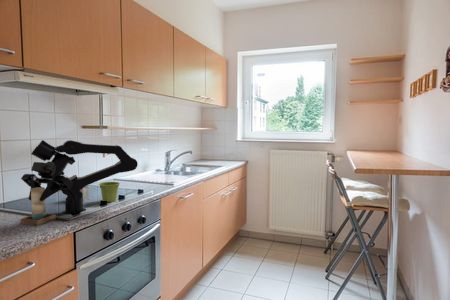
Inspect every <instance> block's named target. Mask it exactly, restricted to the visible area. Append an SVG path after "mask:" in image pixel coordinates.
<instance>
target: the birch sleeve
mask: <svg viewBox="0 0 450 300" xmlns="http://www.w3.org/2000/svg"><path fill="white" fill-rule="evenodd" d="M30 189H31V188H30ZM45 189H46V188H45V187H44V186H41V187H37V188H32V189H31V200H30V202H31V215H32V219H41V218H45V217H46V214H47V210H46V199H45V200H43V201H40V198H41V195H42V194H43V192H44V190H45Z"/></svg>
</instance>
